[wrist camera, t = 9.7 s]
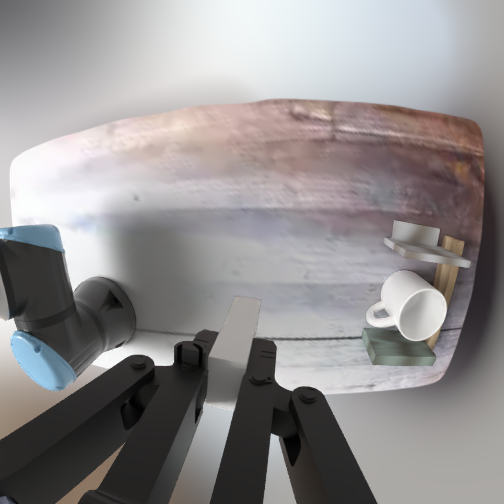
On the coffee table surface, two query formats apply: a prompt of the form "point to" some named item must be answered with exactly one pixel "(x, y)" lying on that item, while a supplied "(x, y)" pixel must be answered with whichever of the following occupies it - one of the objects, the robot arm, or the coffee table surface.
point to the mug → (409, 306)
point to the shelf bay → (449, 259)
